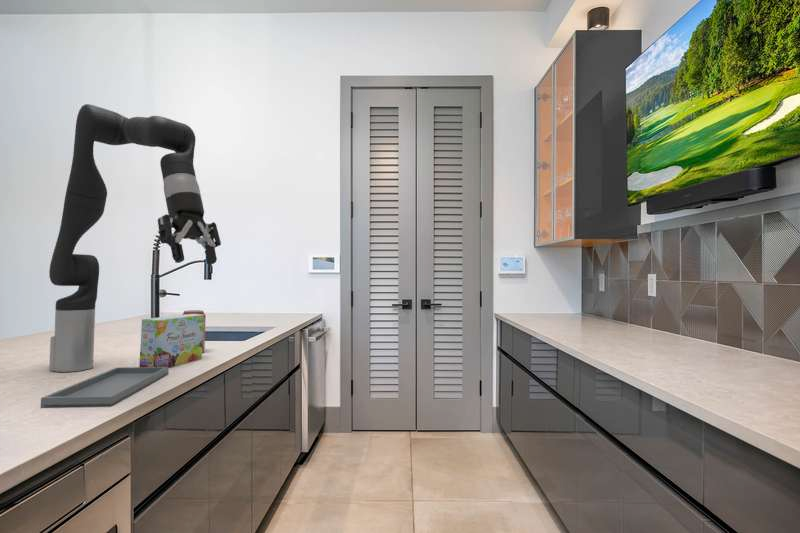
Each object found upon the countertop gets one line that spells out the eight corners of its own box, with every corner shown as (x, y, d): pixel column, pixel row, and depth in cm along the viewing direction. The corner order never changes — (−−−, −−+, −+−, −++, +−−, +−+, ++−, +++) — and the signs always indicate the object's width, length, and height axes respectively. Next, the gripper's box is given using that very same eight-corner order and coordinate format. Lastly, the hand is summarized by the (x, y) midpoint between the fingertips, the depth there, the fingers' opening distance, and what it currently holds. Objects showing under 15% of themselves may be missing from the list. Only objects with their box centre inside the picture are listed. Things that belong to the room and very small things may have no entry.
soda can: (209, 351, 156) (210, 310, 156) (194, 355, 148) (195, 311, 148) (190, 350, 158) (191, 309, 158) (174, 353, 150) (176, 311, 150)
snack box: (155, 372, 122) (156, 319, 123) (138, 371, 123) (139, 318, 124) (203, 358, 143) (204, 313, 143) (188, 357, 144) (189, 312, 144)
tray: (40, 407, 89) (40, 397, 89) (115, 374, 118) (116, 367, 118) (111, 406, 91) (111, 396, 91) (168, 374, 120) (168, 367, 120)
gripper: (198, 208, 108) (210, 269, 105) (144, 197, 95) (156, 266, 92) (219, 197, 105) (232, 259, 102) (166, 184, 92) (179, 255, 90)
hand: (196, 262), depth 97 cm, fingers open, 8 cm apart
